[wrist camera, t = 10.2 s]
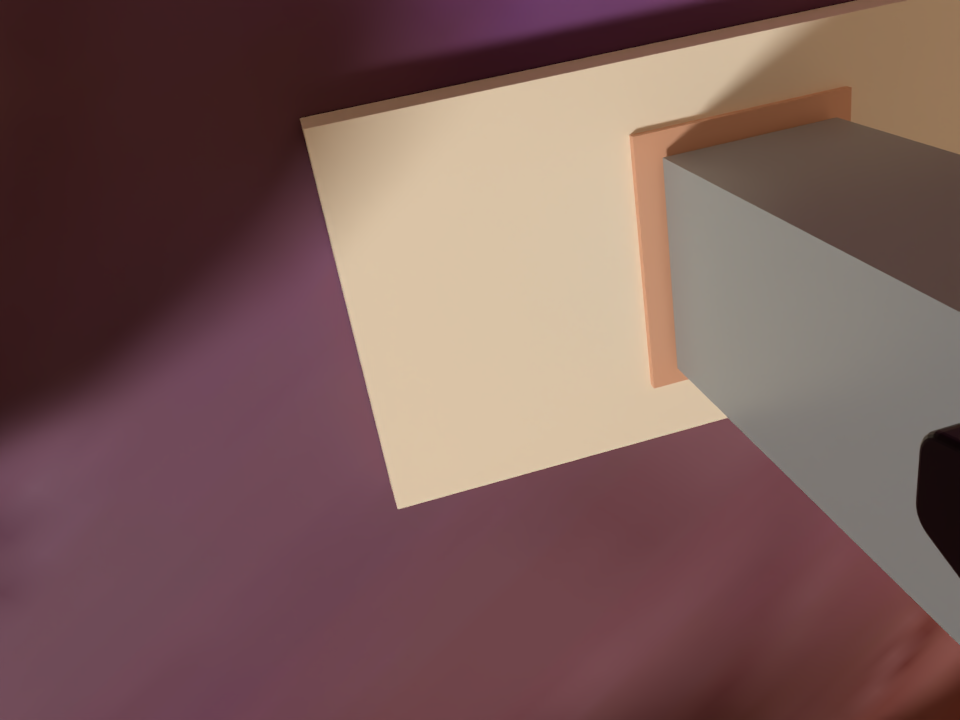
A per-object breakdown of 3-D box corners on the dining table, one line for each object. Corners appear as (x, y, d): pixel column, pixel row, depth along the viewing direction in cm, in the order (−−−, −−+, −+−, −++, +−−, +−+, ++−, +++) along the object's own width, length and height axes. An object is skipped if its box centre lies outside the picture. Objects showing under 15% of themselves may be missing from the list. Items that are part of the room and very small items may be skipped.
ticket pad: (390, 482, 22) (399, 513, 21) (299, 118, 18) (303, 131, 17) (1106, 286, 25) (1150, 304, 24) (1164, -65, 21) (1221, -65, 20)
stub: (677, 368, 21) (1117, 799, 11) (662, 157, 19) (1203, 438, 8) (833, 326, 22) (1398, 696, 11) (836, 117, 19) (1550, 332, 9)
